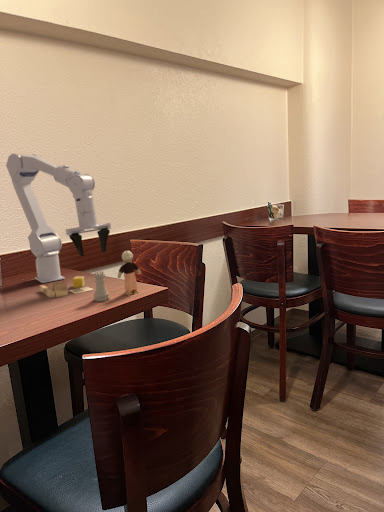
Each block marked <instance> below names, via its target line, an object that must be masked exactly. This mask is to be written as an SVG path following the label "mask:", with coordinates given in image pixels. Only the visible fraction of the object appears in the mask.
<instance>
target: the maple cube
mask: <svg viewBox="0 0 384 512" xmlns="http://www.w3.org/2000/svg"><path fill="white" fill-rule="evenodd" d="M50 285H51V290H53V291H54V292H55V298H61V297H65V296H68V295H69V293H68V287H67V283H66V282H64V281H58V282H55V283H54V282H53V283H51V284H50Z"/></svg>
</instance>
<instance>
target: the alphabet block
mask: <svg viewBox="0 0 384 512" xmlns="http://www.w3.org/2000/svg"><path fill="white" fill-rule="evenodd" d="M85 285H86V283H85V276H80V275H77V276H74V277H73V278H72V286H73V287H72V288H74V289H78V288H83V287H85Z"/></svg>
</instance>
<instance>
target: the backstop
mask: <svg viewBox="0 0 384 512" xmlns="http://www.w3.org/2000/svg"><path fill="white" fill-rule="evenodd" d="M39 292H40V293H42V294H44V295H46V296H47V297H48V298H50V299H55V298H56V297H55V292H54V291H53V290H52V288H49V287H48V286H46V285H45V284H41V285H39Z"/></svg>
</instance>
